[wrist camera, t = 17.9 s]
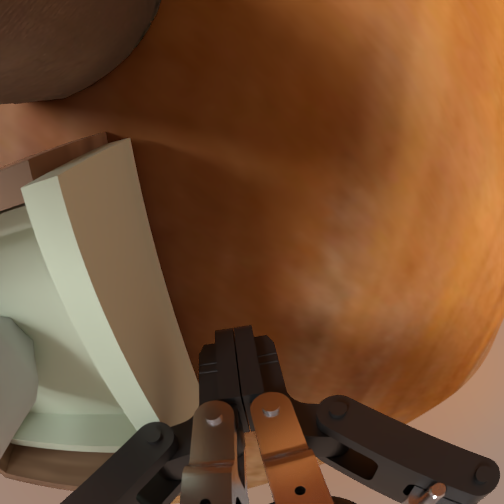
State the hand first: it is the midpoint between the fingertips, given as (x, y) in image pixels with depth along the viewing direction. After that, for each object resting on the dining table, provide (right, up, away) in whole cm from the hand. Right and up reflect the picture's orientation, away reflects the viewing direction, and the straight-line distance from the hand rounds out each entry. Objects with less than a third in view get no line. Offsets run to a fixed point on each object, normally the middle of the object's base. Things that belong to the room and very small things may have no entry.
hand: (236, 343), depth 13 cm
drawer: (-11, 0, +2) cm, 11 cm away
